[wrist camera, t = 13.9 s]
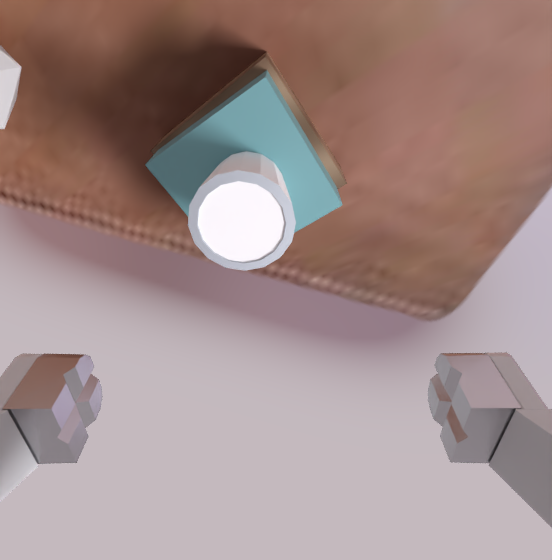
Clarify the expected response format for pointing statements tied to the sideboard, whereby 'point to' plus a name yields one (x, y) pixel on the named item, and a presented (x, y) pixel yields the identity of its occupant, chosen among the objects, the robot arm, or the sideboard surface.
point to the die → (8, 85)
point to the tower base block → (293, 103)
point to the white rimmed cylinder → (243, 213)
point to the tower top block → (248, 137)
